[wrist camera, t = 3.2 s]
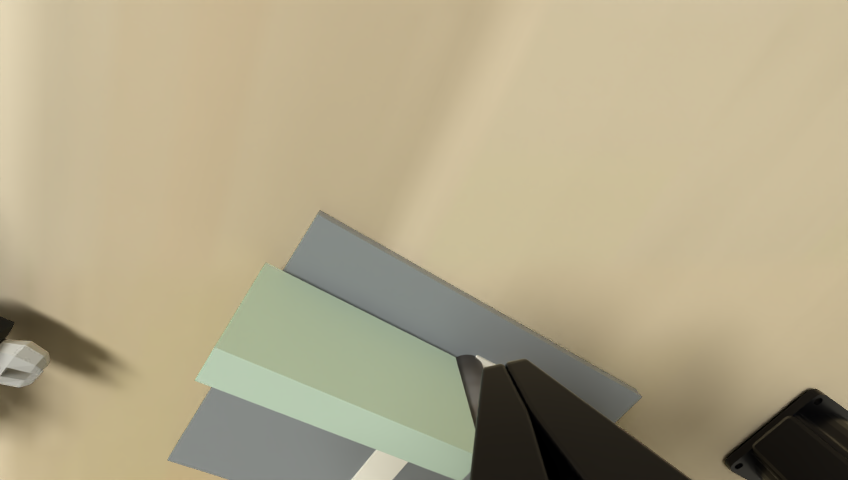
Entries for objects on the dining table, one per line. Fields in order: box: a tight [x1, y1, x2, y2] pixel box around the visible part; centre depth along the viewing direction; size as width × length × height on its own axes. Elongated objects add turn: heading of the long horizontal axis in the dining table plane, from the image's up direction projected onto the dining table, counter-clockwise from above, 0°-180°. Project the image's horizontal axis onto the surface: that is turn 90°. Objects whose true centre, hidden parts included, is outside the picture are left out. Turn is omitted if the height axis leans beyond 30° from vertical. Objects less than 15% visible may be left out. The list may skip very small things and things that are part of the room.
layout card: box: [168, 211, 642, 480], centre depth 19 cm, size 18×14×1 cm
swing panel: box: [195, 263, 475, 480], centre depth 13 cm, size 9×1×5 cm, turn 56°
